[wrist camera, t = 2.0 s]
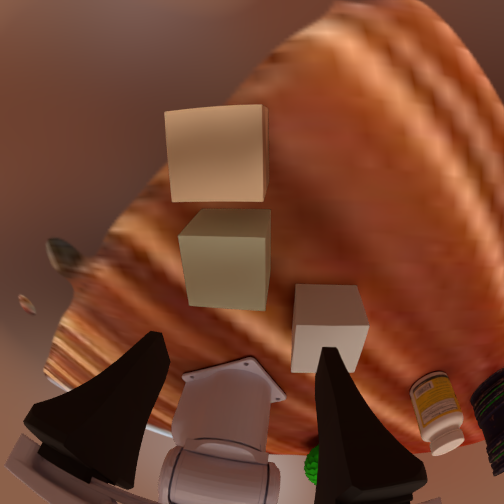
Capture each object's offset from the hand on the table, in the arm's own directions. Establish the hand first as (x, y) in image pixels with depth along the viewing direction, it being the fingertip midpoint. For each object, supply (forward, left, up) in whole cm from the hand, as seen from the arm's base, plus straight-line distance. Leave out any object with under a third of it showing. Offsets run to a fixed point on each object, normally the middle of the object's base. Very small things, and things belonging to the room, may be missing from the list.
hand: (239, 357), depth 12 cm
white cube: (+2, -7, -11) cm, 13 cm away
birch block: (+2, +8, -11) cm, 13 cm away
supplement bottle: (+10, -25, -11) cm, 29 cm away
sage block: (-1, +2, -11) cm, 11 cm away
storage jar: (+22, -37, -11) cm, 45 cm away
